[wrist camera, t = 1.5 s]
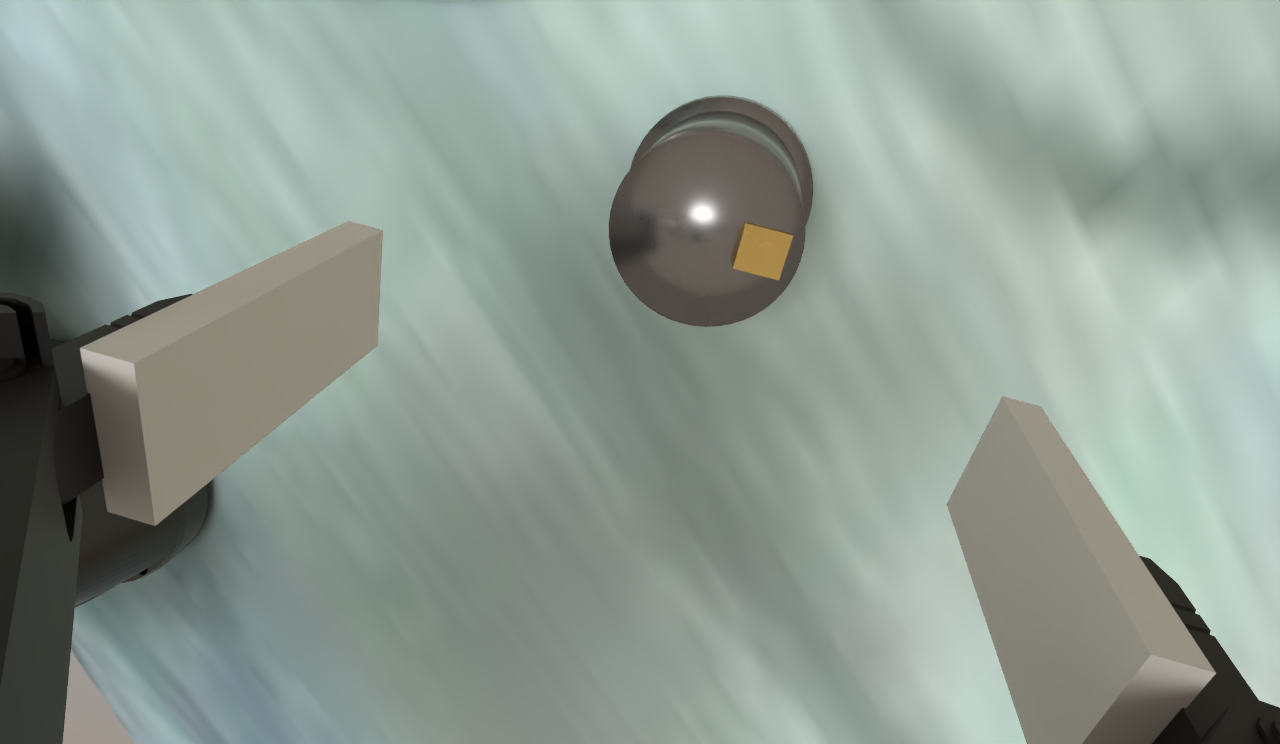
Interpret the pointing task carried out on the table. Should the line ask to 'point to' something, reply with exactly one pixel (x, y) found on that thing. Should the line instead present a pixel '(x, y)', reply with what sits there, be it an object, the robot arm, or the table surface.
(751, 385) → the table surface
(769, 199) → the cover
